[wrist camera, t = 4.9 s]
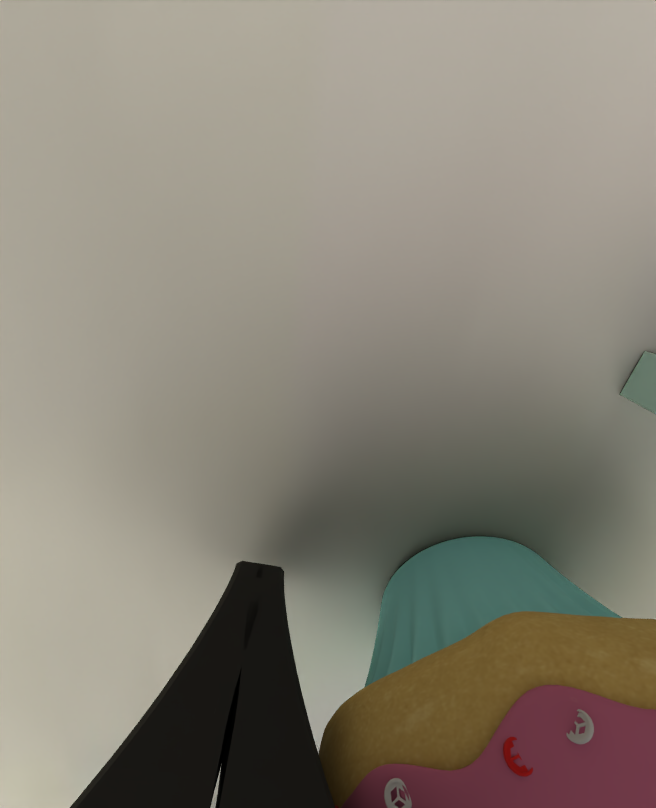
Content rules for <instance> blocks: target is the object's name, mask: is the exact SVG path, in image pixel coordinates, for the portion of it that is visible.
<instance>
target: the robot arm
mask: <svg viewBox="0 0 656 808" xmlns="http://www.w3.org/2000/svg"><path fill="white" fill-rule="evenodd" d="M221 763H222V764H221ZM220 767H221V772H220V780H219V787H218V795H217V801H216V807H215V808H335V805H334V802H333V799H332V796H331V793H330V790H329V787H328V784H327V781H326V778H325V774H324V771H323V768H322V765H321V761H320V758H319V755H318V752H317V748H316V745H315V741H314V738H313V734H312V731H311V727H310V724H309V720H308V716H307V712H306V708H305V704H304V700H303V696H302V692H301V688H300V684H299V679H298V675H297V670H296V665H295V660H294V655H293V650H292V645H291V640H290V634H289V628H288V621H287V613H286V605H285V595H284V571H283V570H282V568H281V567H277V566H271V565H265V564H259V563H252V562H246V561H241V562H239V563H237V564H236V567H235V570H234V572H233V575H232V577H231V579H230V581H229V584H228V586H227V588H226V590H225V592H224V594H223V595H222V597H221V599H220V601H219V603H218V605H217V606H216V608H215V610H214V612H213V613H212V615H211V617H210V618H209V620H208V622H207V623H206V625H205V627H204V628H203V630H202V631H201V633H200V635H199V636H198V638H197V640H196V641H195V643H194V644H193V646H192V648H191V649H190V651H189V652H188V654H187V655H186V657H185V658H184V659H183V661H182V662H181V664H180V665H179V667H178V668H177V670H176V671H175V672H174V674H173V675H172V677H171V678H170V680H169V681H168V683H167V684H166V686H165V687H164V688H163V690H162V691H161V693H160V694H159V695H158V697H157V698H156V700H155V701H154V702H153V704H152V705H151V706H150V708H149V709H148V710H147V712H146V713H145V714H144V716H143V717H142V718H141V720H140V721H139V722H138V724H137V725H136V726H135V728H134V729H133V730H132V732H131V733H130V734H129V735H128V737H127V738H126V739H125V741H124V742H123V743H122V744H121V746H120V747H119V748H118V750H117V751H116V752H115V753H114V755H113V756H112V757H111V758H110V759H109V761H108V762H107V763H106V764H105V766H104V767H103V768H102V769H101V770H100V772H99V773H98V774H97V775H96V777H95V778H94V779H93V780H92V781H91V783H90V784H89V785H88V786H87V788H86V789H85V790H84V791H83V792H82V794H81V795H80V796H79V797H78V799H77V800H76V801H75V802H74V803H73V804H72V806H71V807H70V808H210V807H211V802H212V798H213V794H214V790H215V786H216V782H217V779H218V775H219V771H220Z"/></svg>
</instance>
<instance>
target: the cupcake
mask: <svg viewBox="0 0 656 808" xmlns="http://www.w3.org/2000/svg"><path fill="white" fill-rule="evenodd" d="M319 758H320V761H321V765H322V768H323V771H324V774H325V778H326V781H327V784H328V787H329V790H330V793H331V796H332V799H333V802H334V805H335V808H656V620H654V619H633V618H622V617H620V616H619V615H617V614H615V613H614V612H612V611H611V610H609V609H608V608H606V607H605V606H603V605H602V604H600V603H599V602H597V601H596V600H595V599H593V598H592V597H590V596H589V595H588V594H586V593H585V592H584V591H582V590H581V589H580V588H578V587H577V586H576V585H574V584H573V583H572V582H570V581H569V580H568V579H567V578H565V577H564V576H563V575H561V574H560V573H559V572H558V571H557V570H555V569H554V568H553V567H552V566H551V565H549V564H548V563H547V562H546V561H545V560H544V559H543V558H541V557H540V556H539V555H538V554H536V553H535V552H534V551H532V550H531V549H529V548H527V547H525V546H523V545H521V544H519V543H516V542H513V541H510V540H507V539H502V538H497V537H487V536H474V537H463V538H457V539H453V540H448V541H445V542H442V543H439V544H436V545H434V546H431V547H429V548H427V549H425V550H423V551H421V552H420V553H418V554H416V555H415V556H413V557H412V558H410V559H409V560H408V561H407V562H405V563H404V564H403V565H402V566H401V567H400V568H399V569H398V570H397V571H396V572H395V574H394V575H393V576H392V578H391V579H390V581H389V583H388V585H387V587H386V589H385V591H384V595H383V598H382V603H381V610H380V617H379V623H378V629H377V635H376V640H375V646H374V651H373V656H372V660H371V665H370V669H369V673H368V677H367V680H366V684H365V687H364V688H363V689H362V690H360V691H359V692H357V693H356V694H355V695H353V696H352V697H351V698H349V699H348V700H347V701H346V702H344V703H343V704H342V705H341V706H340V707H339V709H338V710H337V711H336V712H335V714H334V715H333V716H332V718H331V719H330V721H329V722H328V724H327V726H326V728H325V730H324V733H323V737H322V741H321V745H320V750H319Z"/></svg>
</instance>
